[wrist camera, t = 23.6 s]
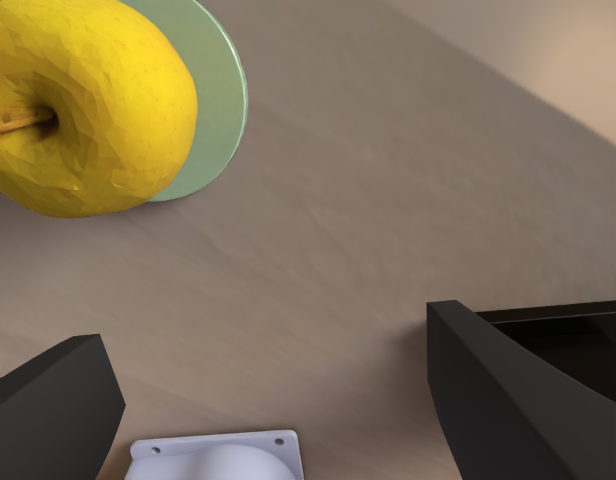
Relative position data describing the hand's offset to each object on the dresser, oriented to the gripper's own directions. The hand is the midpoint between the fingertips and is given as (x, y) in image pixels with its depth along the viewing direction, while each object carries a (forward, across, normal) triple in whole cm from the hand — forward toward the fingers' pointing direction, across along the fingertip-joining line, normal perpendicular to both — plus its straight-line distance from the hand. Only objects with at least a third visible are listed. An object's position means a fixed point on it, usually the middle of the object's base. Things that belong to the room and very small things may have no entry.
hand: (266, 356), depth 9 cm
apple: (+10, +5, -5) cm, 12 cm away
